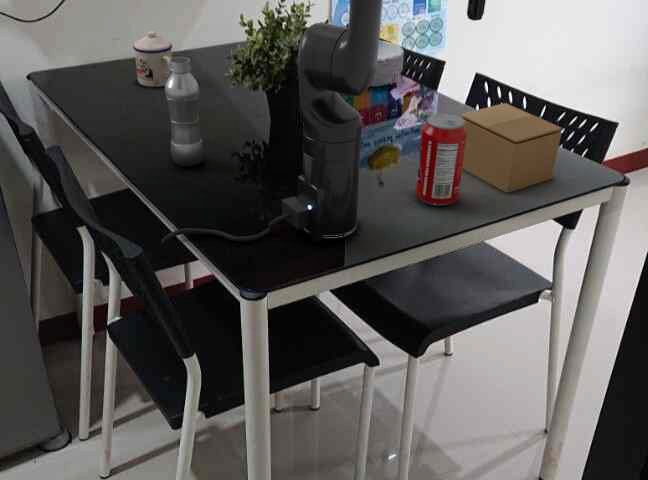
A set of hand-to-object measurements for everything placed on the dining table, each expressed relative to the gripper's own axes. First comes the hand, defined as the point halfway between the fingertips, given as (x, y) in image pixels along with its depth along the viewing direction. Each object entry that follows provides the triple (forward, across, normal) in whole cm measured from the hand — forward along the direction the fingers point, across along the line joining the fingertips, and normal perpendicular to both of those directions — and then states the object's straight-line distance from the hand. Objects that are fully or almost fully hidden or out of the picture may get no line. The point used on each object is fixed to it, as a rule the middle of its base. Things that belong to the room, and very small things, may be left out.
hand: (474, 19), depth 141 cm
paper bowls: (+27, -13, -47) cm, 56 cm away
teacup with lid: (+27, +34, -70) cm, 83 cm away
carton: (+27, -5, +9) cm, 29 cm away
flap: (+17, -5, +5) cm, 19 cm away
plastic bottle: (+28, +47, -25) cm, 60 cm away
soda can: (+28, +14, +12) cm, 33 cm away
